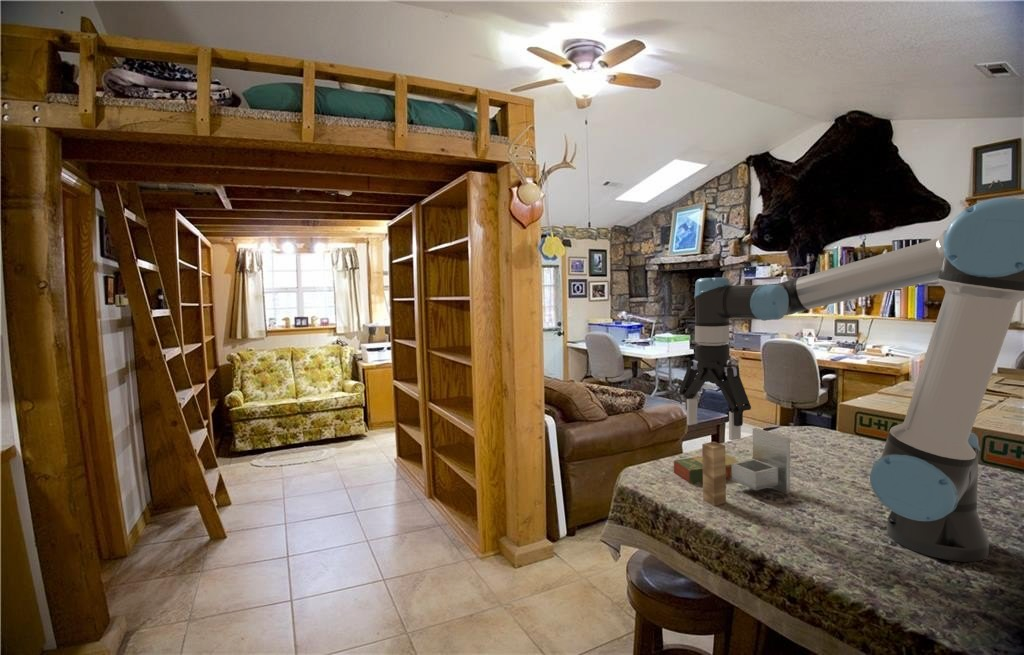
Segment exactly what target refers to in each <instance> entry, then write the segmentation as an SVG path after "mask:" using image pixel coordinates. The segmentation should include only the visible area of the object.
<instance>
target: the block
mask: <svg viewBox="0 0 1024 655" xmlns="http://www.w3.org/2000/svg"><path fill="white" fill-rule="evenodd" d="M701 447H702V456H701V457H702V458H703V482H702V501H705V502H706V503H708V504H710V505H712V506H714V507H715V506H718V505H723V504H726V503H727V492H726V489H727V488H726V486H727V483H726V482H727V479H726V467H725V454H726V445H724V444H722V443H719V442H716V441H710V442H705V443H702V445H701Z"/></svg>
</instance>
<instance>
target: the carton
mask: <svg viewBox="0 0 1024 655" xmlns="http://www.w3.org/2000/svg"><path fill="white" fill-rule="evenodd" d="M736 462H740V460H737V459H736V458H734V457H732V456H730V455H728V454H726V453H725V467H726V478H728V479H732V463H736ZM673 474H675V475H676V476H678V477H679V478H681V479H682V480H683V481H685V482H686V483H688V484H697V482H698V483H703V458H702V456H697V457H696V456H695V457H690V458H689V457H687V458H681V459H680V458H679V459H674V461H673Z"/></svg>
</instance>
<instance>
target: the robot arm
mask: <svg viewBox="0 0 1024 655" xmlns="http://www.w3.org/2000/svg"><path fill="white" fill-rule="evenodd" d="M933 281H937V282H938V283H939V284H940V285H941V286H942V288H943V289H944V291H945V293H944V296H943V299H942V302H941V306H940V309H939V312H938V315H937V318H936V321H935V323H934V327H933V330H932V334H931V337H930V339H929V343H928V346H927V349H926V352H925V355H924V359H923V361H922V364H921V367H920V368H921V369H920V371H919V375H918V377H917V380H916V382H915V383H916V384H915V387H914V389H913V392H912V396H911V399H910V402H909V405H908V407H907V408H908V409H907V410H906V414H905V418H904V420H903V422H902V423H899V424H896V425H894V426H892V427H891V428H890V429H889V432H888V436H887V437H886V441H885V445H884V447H883V450H882V454H881V457H879V458H878V459H877V460H876V461H874V464H873V465H872V467H871V469H870V470H871V471H870V474H869V482H870V486H871V489H872V491H873V494H875V495H876V497H877V498H878V499H879V501H880V502H881V504H882V505H883V506H885V507H886V508H887V509H888V510H890V513H889V515H888V518H887V520H886V533H887V535H888V536H889V537H890V539H892V540H894V541H895V542H896V543H898V544H899V545H901V546H902V547H905V548H907V549H909V550H911V551H914V552H916V553H919V554H922V555H924V556H925V555H926V556H929V557H933V558H936V559H940V560H947V561H953V562H965V563H969V562H971V563H972V562H980V561H983V560H985V559H987V557H989V554H990V553H989V550H990V549H989V548H990V542H989V539H988V536H987V534H986V532H985V529H984V526H983V524H982V521H981V518H980V516H979V513H978V484H979V483H978V482H979V480H978V479H979V477H978V476H979V452H980V451H981V447H980V445H979V438H978V436H977V434H975V433H974V432H972V430H973V427H974V424H975V421H976V419H977V416H978V413H979V410H980V408H981V405H982V402H983V399H984V396H985V394H986V391H987V388H988V385H989V382H990V380H991V378H992V374H993V373H994V369H995V366H996V363H997V361H998V358H999V355H1000V353H1001V349H1002V347H1003V344H1004V343H1005V338H1006V336H1007V333H1008V330H1009V327H1010V326H1011V325H1010V324H1011V322H1012V319H1013V317H1014V313H1015V311H1016V308H1017V306H1018V303H1019V302H1021V301H1023V300H1024V198H1018V197H1013V196H1012V197H997V198H991V199H987V200H984V201H981V202H978V203H976V204H973V205H971V206H970V207H969V206H968V207H967V208H966V209H964V210H962V211H961V212H960V213H959V214H957V216H955V217H954V219H953V220H952V221H951V222H950V224H949V225H948V227H947V228H946V230H943V232H942V233H941V235H940V236H939V237H937V238H934V239H931V240H927V241H923V242H919V243H915V244H913V245H912V244H911V245H909V246H905V247H902V248H898V249H895V250H892V251H888V252H885V253H881V254H877V255H874V256H870V257H867V258H864V259H860V260H857V261H853V262H849V263H846V264H843V265H839V266H835V267H831V268H829V269H825V270H822V271H821V270H820V271H818V272H815V273H811V274H808V275H804V276H800V277H797V278H792V279H789V280H785V281H783V282H778V283H766V284H749V285H748V284H747V285H745V284H744V285H731V283H730V279H729V277H727V276H726V277H725V276H724V277H704V278H702V277H700V278H699V279H697V280H696V281H695V284H694V285H695V286H694V287H695V288H694V296H693V298H694V314H695V316H694V317H695V319H694V320H695V323H694V341H695V342H696V343H695V345H694V359H690V360H688V361H687V368H686V371H685V375H684V377H683V379H682V382H681V384H680V387H679V390H678V394H679V395H681V396H682V395H683V397H684V399H685V410H686V425H687V426H692V425H698V398H697V397H698V396H697V394H698V393H699V391H700V389H701V388H703V386H704V384H705V383H708V382H709V383H711V384H715V386H716V387H718V388H719V390H720V392H721V393H722V395H723V397H724V398H725V400H726V402H727V404H728V406H729V407H730V411H728V440H729V441H735V440H740V439H741V437H742V435H741V434H742V431H741V430H742V428H741V427H742V426H743V425H744V424H743V422H744V420H743V419H744V415H743V413H744V412H746V411H750V410H752V406H751V403H750V400H749V398H748V395H747V393H746V390H745V387H744V385H743V381H742V379H741V377H740V376H741V375H740V374H741V373H740V368H739V366H732V367H731V366H730V367H729V366H728V363H727V362H728V361H729V360H730V345H729V344H728V342H730V319H732V320H733V319H735V320H736V319H739V320H756V321H757V320H759V321H760V320H761V321H772V320H773V321H778V320H781V319H783V318H784V316H788V315H793V314H796V313H799V312H804V311H807V310H813V309H816V308H821V307H825V306H829V305H833V304H838V303H842V302H846V301H850V300H854V299H860V298H863V297H869V296H872V295H877V294H881V293H885V292H889V291H894V290H898V289H903V288H908V287H912V286H916V285H920V284H924V283H930V282H933Z"/></svg>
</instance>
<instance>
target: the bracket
mask: <svg viewBox="0 0 1024 655" xmlns="http://www.w3.org/2000/svg"><path fill="white" fill-rule="evenodd" d="M731 481H733V482H735V483H738V484H739V485H742V486H744V487H747V488H749V489H751V490H754V491H760V490H763V489H767V488H769V489H773V490H776V491H778V492H780V493H782V494H785V495H789V494H791V437H788V436H785V435H782V434H778V433H775V432H771V431H768V430H765V429H762V428H757V427H754V428H752V458H751V459H746V460H742V461H739V462H736V463H732V478H731Z"/></svg>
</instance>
